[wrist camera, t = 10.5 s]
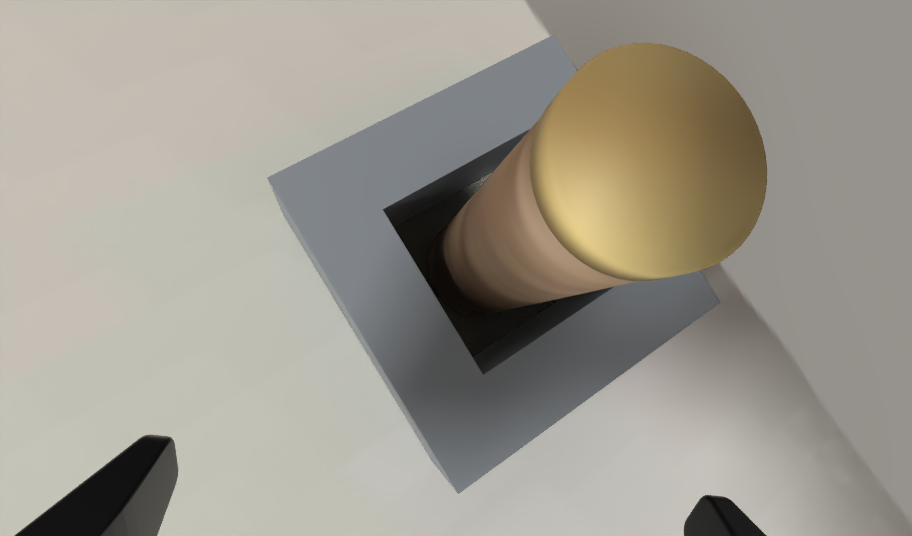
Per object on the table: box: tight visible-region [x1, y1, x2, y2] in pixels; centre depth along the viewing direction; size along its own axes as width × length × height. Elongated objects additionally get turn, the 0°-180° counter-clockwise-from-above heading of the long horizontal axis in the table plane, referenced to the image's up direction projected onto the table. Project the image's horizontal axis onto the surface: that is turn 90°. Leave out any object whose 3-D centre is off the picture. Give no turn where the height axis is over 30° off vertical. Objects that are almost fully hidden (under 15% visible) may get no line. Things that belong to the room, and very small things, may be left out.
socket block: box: [268, 35, 720, 494], centre depth 20 cm, size 11×11×4 cm
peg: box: [428, 43, 767, 315], centre depth 15 cm, size 4×4×13 cm
